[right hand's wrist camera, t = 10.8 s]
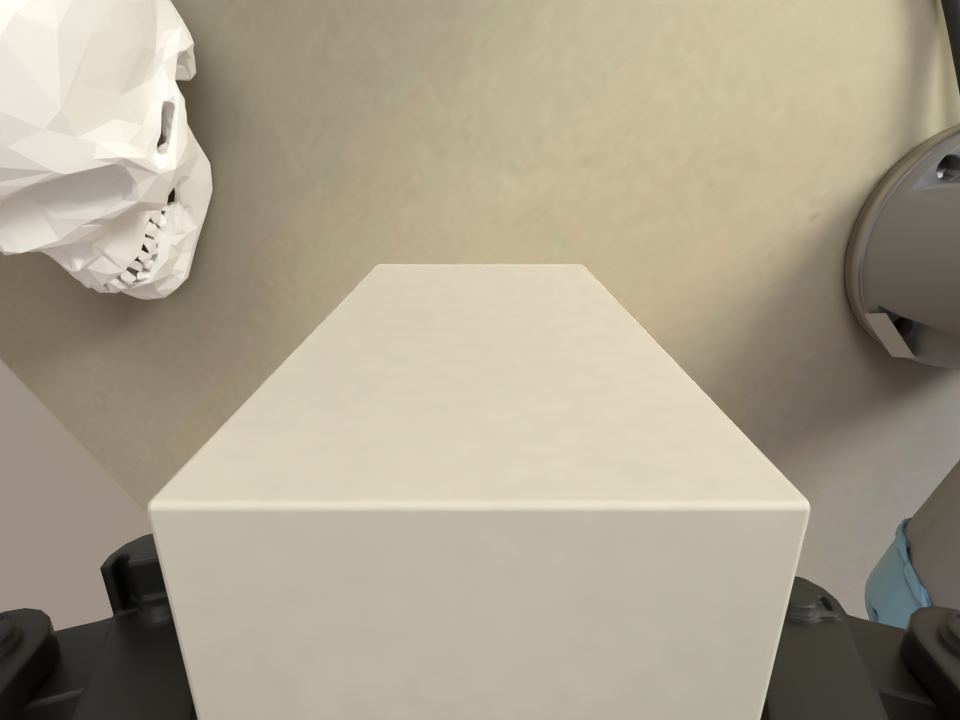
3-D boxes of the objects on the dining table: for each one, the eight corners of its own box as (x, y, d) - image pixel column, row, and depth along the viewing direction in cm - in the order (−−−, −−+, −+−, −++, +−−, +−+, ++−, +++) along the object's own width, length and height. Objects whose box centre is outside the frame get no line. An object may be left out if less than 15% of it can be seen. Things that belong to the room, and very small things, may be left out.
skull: (83, 309, 36) (-177, 413, 21) (-87, -98, 29) (-671, -376, 14) (283, 275, 36) (162, 357, 21) (165, -143, 29) (-152, -474, 14)
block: (567, 502, 19) (695, 1002, 8) (391, 502, 19) (263, 1003, 8) (583, 263, 16) (816, 504, 5) (376, 263, 16) (141, 504, 5)
